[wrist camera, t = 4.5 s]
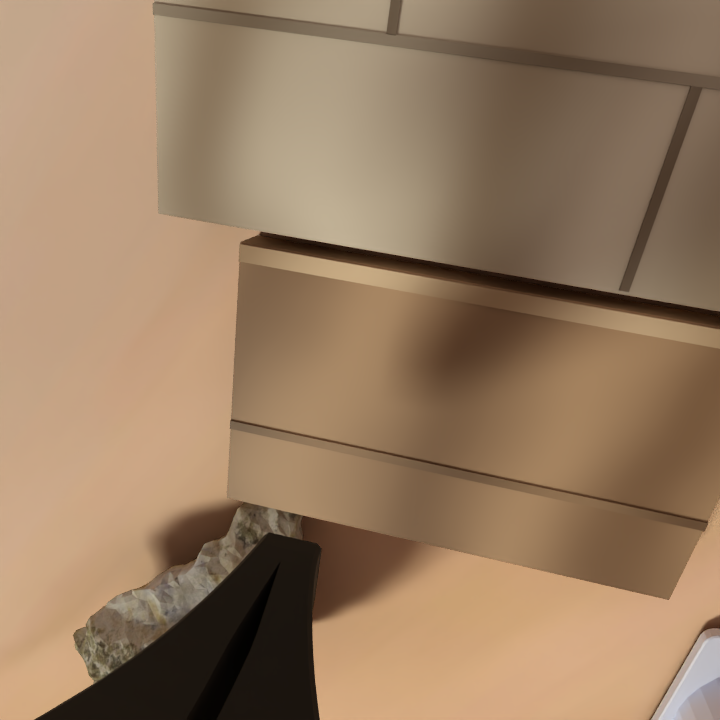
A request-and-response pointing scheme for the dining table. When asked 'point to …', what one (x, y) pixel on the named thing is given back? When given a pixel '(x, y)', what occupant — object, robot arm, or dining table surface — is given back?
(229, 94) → the beige grooved panel
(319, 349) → the plank
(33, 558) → the dining table surface
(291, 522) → the rock
